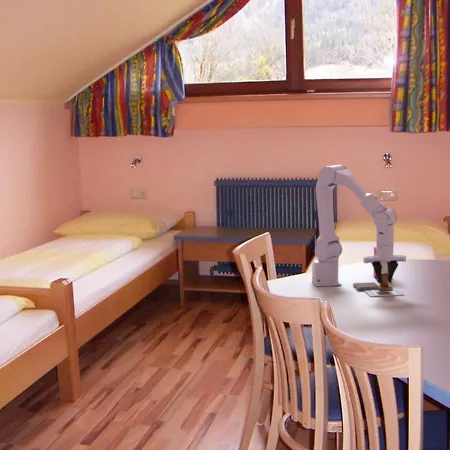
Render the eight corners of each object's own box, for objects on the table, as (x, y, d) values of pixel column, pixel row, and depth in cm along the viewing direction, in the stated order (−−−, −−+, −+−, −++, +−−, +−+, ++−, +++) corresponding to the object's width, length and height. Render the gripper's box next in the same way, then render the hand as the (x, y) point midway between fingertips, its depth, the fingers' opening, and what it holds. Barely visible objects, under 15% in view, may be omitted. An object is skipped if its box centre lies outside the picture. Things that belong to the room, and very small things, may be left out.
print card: (370, 296, 237) (370, 295, 237) (364, 291, 244) (364, 290, 244) (404, 295, 238) (404, 294, 238) (397, 290, 245) (397, 289, 245)
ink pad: (358, 291, 245) (358, 287, 245) (353, 286, 252) (353, 282, 252) (380, 290, 246) (380, 286, 246) (374, 285, 253) (374, 281, 252)
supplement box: (388, 275, 266) (389, 246, 265) (390, 279, 261) (391, 249, 259) (373, 275, 267) (373, 246, 265) (374, 279, 261) (375, 249, 259)
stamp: (380, 291, 239) (380, 274, 238) (375, 288, 243) (375, 271, 242) (392, 290, 239) (393, 274, 238) (387, 287, 244) (388, 271, 243)
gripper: (367, 247, 234) (367, 286, 236) (409, 245, 235) (408, 284, 237) (361, 243, 241) (361, 281, 243) (402, 241, 242) (401, 279, 244)
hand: (384, 282), depth 241 cm, fingers closed on stamp, 3 cm apart
